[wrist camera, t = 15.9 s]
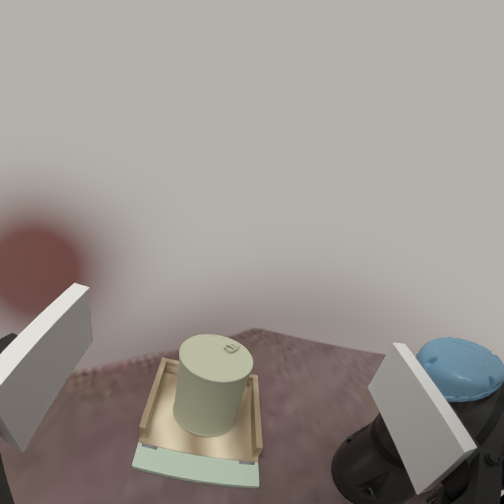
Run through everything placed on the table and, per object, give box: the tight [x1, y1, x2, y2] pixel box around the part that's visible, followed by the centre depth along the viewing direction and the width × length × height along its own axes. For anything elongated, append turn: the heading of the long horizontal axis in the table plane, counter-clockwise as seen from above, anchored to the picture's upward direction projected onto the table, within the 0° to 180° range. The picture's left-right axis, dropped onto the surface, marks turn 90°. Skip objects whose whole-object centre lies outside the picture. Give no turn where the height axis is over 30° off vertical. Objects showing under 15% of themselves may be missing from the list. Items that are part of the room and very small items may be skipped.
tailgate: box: [132, 442, 259, 489], centre depth 28 cm, size 16×4×1 cm, turn 92°
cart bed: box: [139, 357, 263, 462], centre depth 37 cm, size 16×16×4 cm
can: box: [173, 334, 253, 437], centre depth 35 cm, size 9×9×12 cm
